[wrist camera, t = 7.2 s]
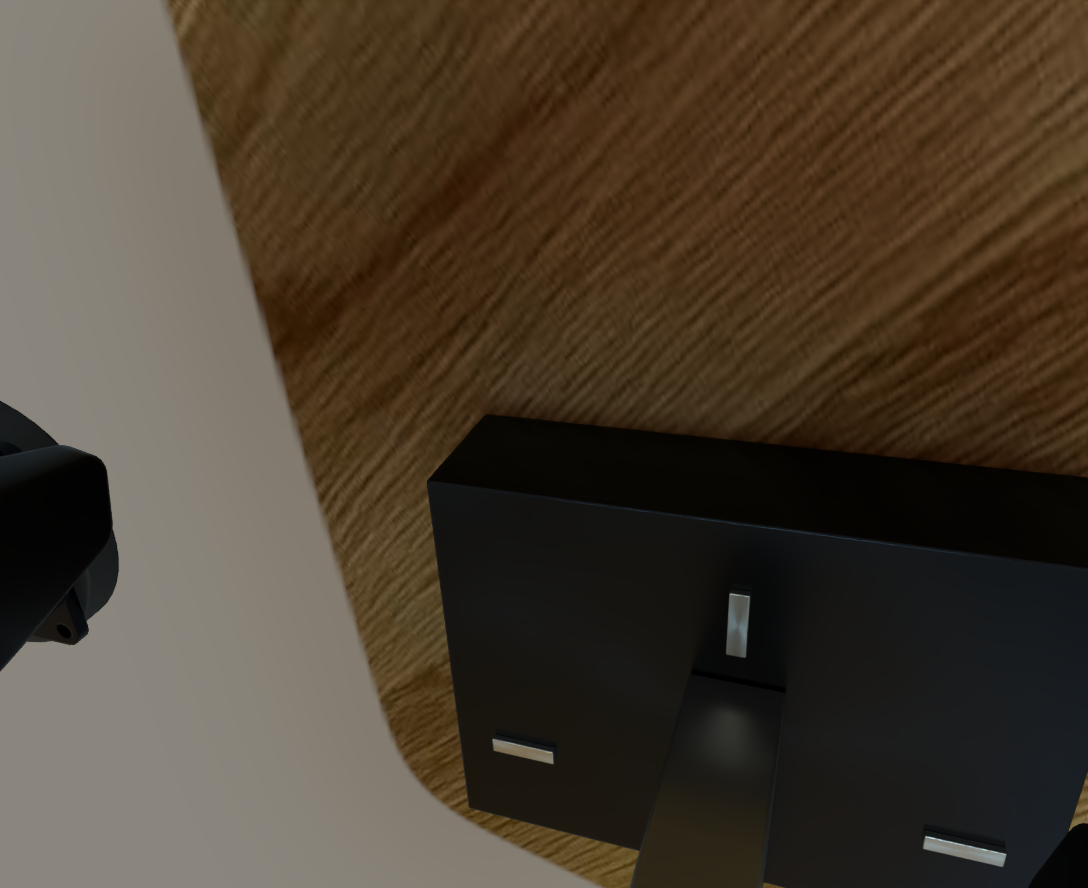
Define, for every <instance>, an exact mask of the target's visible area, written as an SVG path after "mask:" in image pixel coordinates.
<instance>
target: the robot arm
mask: <svg viewBox="0 0 1088 888" xmlns="http://www.w3.org/2000/svg"><path fill="white" fill-rule="evenodd" d="M112 526H113V521H112V512H111V503H110V494H109V485H108V476H107V470H106V467H105V465H104V463H103V462H102V460H101V459H99V458H98V457H97V456H94V455H92V454H89V453H86V452H84V451H81V450H78V449H76V448H73V447H70V446H65V445H56V446H51V447H46V448H41V449H36V450H31V451H26V452H22V451H21V450H20V448H18V447H17V446H15V445H14V444H12V443H9V442H4V441H0V671H1V670H2V669H3V668H4V667H5V666H6V665H7V664H8V662H9V661H10V660H11V659H12V658H13V657H14V656H15V654H16V653H17V652H18V651H19V650H20V649H21V648H22V646H23V645H24V644H25V643H26V642H27V640H28V639H29V638H30V637H31V636H32V637H37V638H41V639H46V640H50V641H55V642H59V643H64V644H68V645H75V644H76V643H78V642H79V641H80V640H81V639H82V638H84V637H85V636H86V635H87V634H88V631H89V629H88V625H87V622H86V619H85V616H84V613H83V611H82V608H81V605H80V602H79V600H78V597H77V594H76V591H75V589H74V586H73V585H74V584H75V583H76V582H77V581H78V579H79V578H80V577H81V576H82V575H83V573H84V572H85V571H86V570H87V569H88V567H89V566H90V565H91V564H92V563H93V561H94V560H95V559H96V558H97V557H98V555H99V554H100V553H101V552H102V550H103V549H104V548H105V546H106V544H107V542H108V541H109V538H110V535H111V532H112ZM1028 888H1088V824H1087V823H1082V824H1078V825H1077V826H1075V827H1073V828H1072V829H1071V830H1070V831H1069V832H1068V833H1067V835H1066V836H1065V837H1064V839H1063V840H1062V841H1061V842H1060V844H1059V845H1058V846H1057V848H1056V849H1055V850H1054V852H1053V853H1052V854H1051V855H1050V857H1049V858H1048V859H1047V861H1046V862H1045V863H1044V865H1043V866H1042V867H1041V868H1040V870H1039V871H1038V872H1037V874H1036V875H1035V876H1034V878H1033V879H1032V881H1031V882H1030V884H1029V887H1028Z"/></svg>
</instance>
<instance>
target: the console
mask: <svg viewBox="0 0 1088 888" xmlns="http://www.w3.org/2000/svg"><path fill="white" fill-rule="evenodd" d="M427 487H428V495H429V503H430V510H431V518H432V526H433V534H434V541H435V549H436V557H437V565H438V572H439V580H440V588H441V595H442V603H443V611H444V619H445V626H446V634H447V642H448V650H449V657H450V665H451V673H452V681H453V688H454V696H455V704H456V712H457V719H458V727H459V735H460V743H461V750H462V758H463V766H464V774H465V781H466V789H467V797H468V805H469V808H471V809H475V810H479V811H483V812H487V813H491V814H495V815H499V816H503V817H507V818H511V819H515V820H519V821H523V822H527V823H530V824H534V825H538V826H542V827H546V828H550V829H554V830H558V831H562V832H566V833H570V834H574V835H578V836H582V837H586V838H590V839H594V840H598V841H602V842H606V843H610V844H614V845H618V846H622V847H626V848H630V849H634V850H638V851H640V849H641V845H642V842H643V838H644V834H645V831H646V827H647V824H648V820H649V817H650V813H651V809H652V806H653V802H654V799H655V795H656V792H657V788H658V785H659V781H660V777H661V774H662V770H663V767H664V763H665V760H666V756H667V752H668V749H669V745H670V742H671V738H672V735H673V731H674V727H675V724H676V720H677V717H678V713H679V710H680V706H681V703H682V699H683V695H684V692H685V688H686V685H687V681H688V678H689V676H690V675H691V674H693V675H698V676H703V677H708V678H713V679H718V680H723V681H728V682H733V683H738V684H743V685H748V686H753V687H758V688H763V689H768V690H773V691H778V692H783V693H785V695H786V699H785V708H784V716H783V724H782V733H781V741H780V750H779V758H778V766H777V775H776V783H775V792H774V800H773V808H772V817H771V825H770V834H769V842H768V850H767V859H766V867H765V875H764V882H765V883H768V884H772V885H776V886H780V887H784V888H1028V887H1029V884H1030V882H1031V881H1032V879H1033V878H1034V876H1035V875H1036V874H1037V872H1038V871H1039V870H1040V868H1041V867H1042V866H1043V865H1044V863H1045V862H1046V861H1047V859H1048V858H1049V857H1050V855H1051V854H1052V853H1053V852H1054V850H1055V849H1056V848H1057V846H1058V845H1059V844H1060V842H1061V841H1062V840H1063V839H1064V837H1065V836H1066V835H1067V833H1068V831H1069V828H1070V825H1071V822H1072V819H1073V816H1074V813H1075V810H1076V806H1077V803H1078V800H1079V797H1080V794H1081V791H1082V788H1083V785H1084V782H1085V779H1086V776H1087V772H1088V478H1086V477H1076V476H1067V475H1058V474H1048V473H1039V472H1029V471H1020V470H1010V469H1001V468H991V467H982V466H972V465H963V464H953V463H944V462H934V461H925V460H915V459H906V458H896V457H887V456H877V455H868V454H858V453H849V452H839V451H830V450H820V449H811V448H801V447H792V446H782V445H773V444H763V443H754V442H744V441H735V440H725V439H716V438H706V437H697V436H687V435H678V434H668V433H659V432H649V431H640V430H630V429H621V428H611V427H602V426H592V425H583V424H573V423H564V422H554V421H545V420H535V419H526V418H516V417H507V416H497V415H488V414H486V415H484V416H483V417H482V418H481V420H480V421H479V422H478V423H477V424H476V425H475V426H474V428H473V429H472V430H471V431H470V432H469V433H468V434H467V436H466V437H465V438H464V439H463V440H462V441H461V442H460V444H459V445H458V446H457V447H456V448H455V449H454V450H453V452H452V453H451V454H450V455H449V456H448V457H447V458H446V460H445V461H444V462H443V463H442V464H441V465H440V466H439V468H438V469H437V470H436V471H435V472H434V473H433V474H432V476H431V477H430V478H429V479H428V480H427Z"/></svg>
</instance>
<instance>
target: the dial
mask: <svg viewBox="0 0 1088 888" xmlns="http://www.w3.org/2000/svg"><path fill="white" fill-rule="evenodd" d="M785 699H786V695H785V693H783V692H778V691H773V690H768V689H763V688H758V687H753V686H748V685H743V684H738V683H733V682H728V681H723V680H718V679H713V678H708V677H703V676H698V675H693V674H691V675H690V676H689V678H688V681H687V685H686V688H685V692H684V695H683V699H682V703H681V706H680V710H679V713H678V717H677V720H676V724H675V727H674V731H673V735H672V738H671V742H670V745H669V749H668V752H667V756H666V760H665V763H664V767H663V770H662V774H661V777H660V781H659V785H658V788H657V792H656V795H655V799H654V802H653V806H652V809H651V813H650V817H649V820H648V824H647V827H646V831H645V834H644V838H643V842H642V845H641V849H640V852H639V856H638V859H637V863H636V866H635V870H634V874H633V877H632V881H631V884H630V888H763V884H764V875H765V867H766V859H767V850H768V842H769V834H770V825H771V817H772V808H773V800H774V792H775V783H776V775H777V766H778V758H779V750H780V741H781V733H782V724H783V716H784V708H785Z"/></svg>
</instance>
